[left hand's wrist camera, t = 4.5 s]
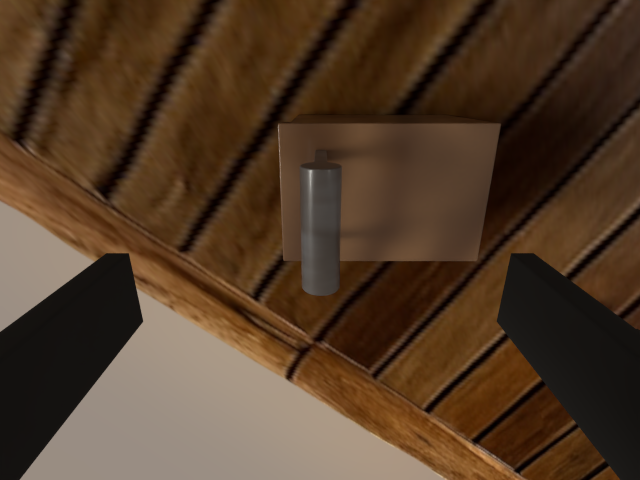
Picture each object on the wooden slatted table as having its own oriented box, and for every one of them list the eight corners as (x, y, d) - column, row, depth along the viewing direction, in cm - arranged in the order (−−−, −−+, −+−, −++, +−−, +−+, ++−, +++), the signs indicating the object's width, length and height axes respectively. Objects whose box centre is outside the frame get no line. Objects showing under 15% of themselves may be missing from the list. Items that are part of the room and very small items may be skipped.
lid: (284, 254, 27) (270, 320, 19) (279, 121, 23) (259, 135, 15) (471, 254, 27) (533, 320, 19) (493, 121, 23) (580, 135, 15)
